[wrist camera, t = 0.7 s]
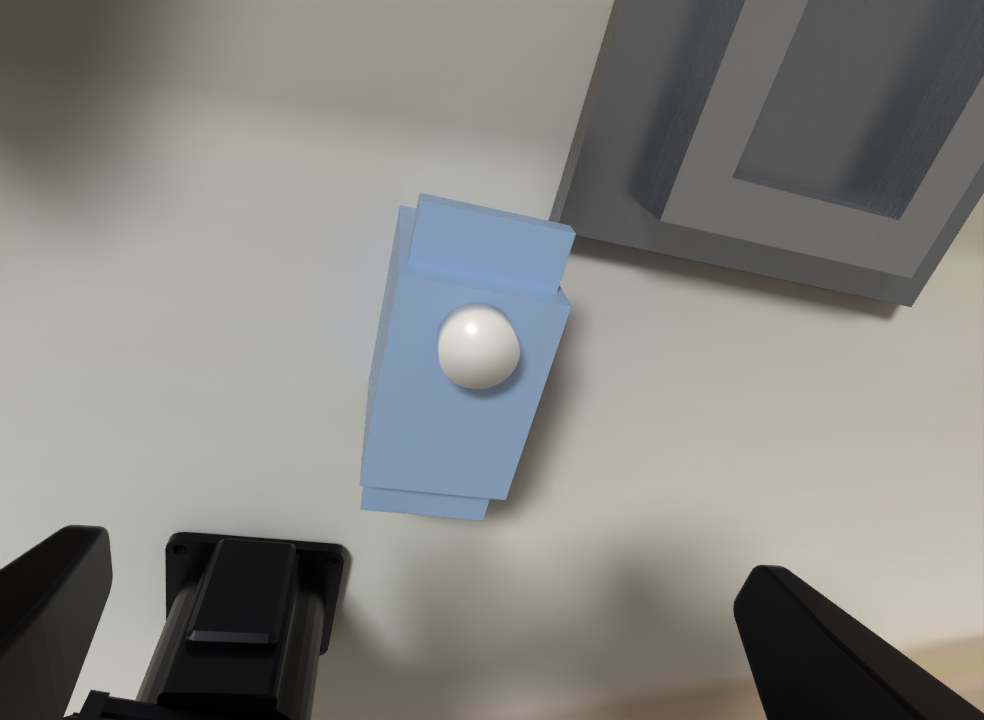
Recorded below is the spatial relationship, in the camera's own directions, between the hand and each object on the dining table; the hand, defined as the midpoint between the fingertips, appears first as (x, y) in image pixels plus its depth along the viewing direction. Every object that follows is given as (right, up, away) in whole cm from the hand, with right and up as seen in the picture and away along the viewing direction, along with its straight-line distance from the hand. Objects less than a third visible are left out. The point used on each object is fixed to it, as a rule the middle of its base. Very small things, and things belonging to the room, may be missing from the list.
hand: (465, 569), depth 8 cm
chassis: (+10, +12, +9) cm, 18 cm away
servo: (-1, +5, +11) cm, 12 cm away
